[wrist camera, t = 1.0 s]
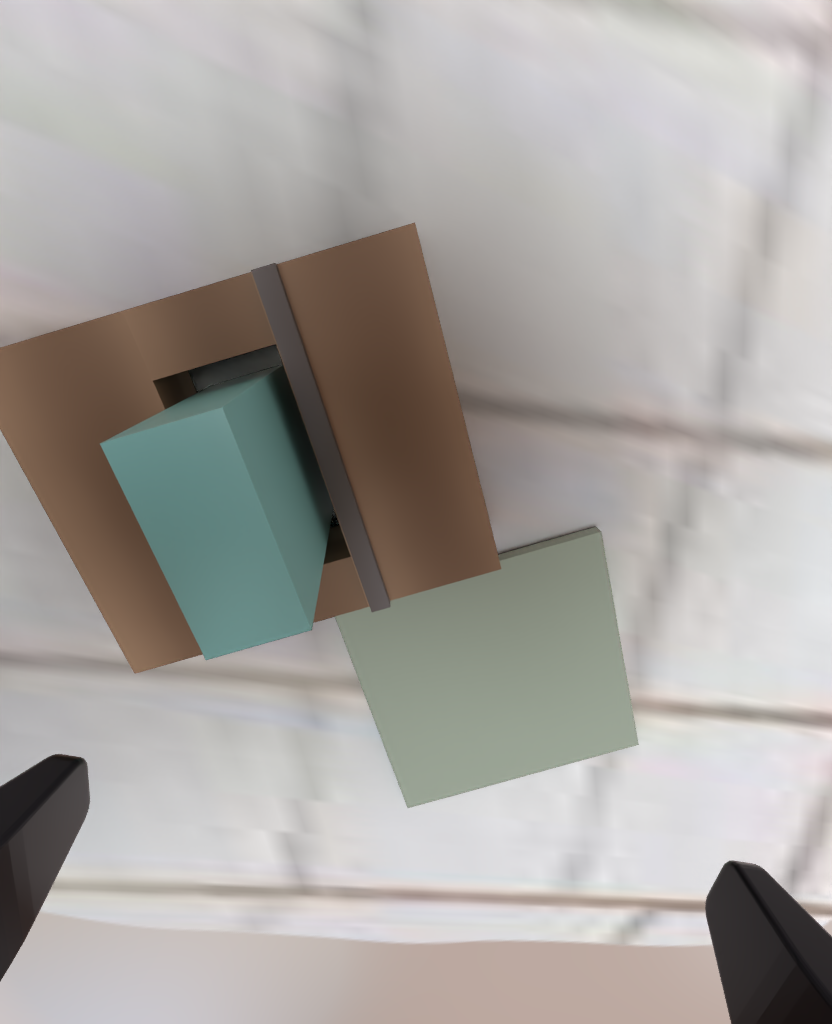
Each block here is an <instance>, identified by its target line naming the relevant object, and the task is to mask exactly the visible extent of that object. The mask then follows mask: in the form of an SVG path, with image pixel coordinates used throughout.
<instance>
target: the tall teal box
mask: <svg viewBox="0 0 832 1024" xmlns="http://www.w3.org/2000/svg"><path fill="white" fill-rule="evenodd" d="M100 445H101V447H102V449H103V451H104V453H105V455H106V458H107V460H108V462H109V464H110V466H111V468H112V470H113V472H114V474H115V476H116V478H117V480H118V482H119V484H120V486H121V488H122V490H123V492H124V494H125V496H126V498H127V500H128V502H129V504H130V506H131V508H132V510H133V513H134V515H135V517H136V519H137V521H138V523H139V525H140V527H141V529H142V531H143V533H144V535H145V537H146V539H147V541H148V543H149V545H150V547H151V549H152V551H153V553H154V555H155V557H156V559H157V561H158V563H159V566H160V568H161V570H162V572H163V574H164V576H165V578H166V580H167V582H168V584H169V586H170V588H171V590H172V592H173V594H174V596H175V598H176V600H177V602H178V604H179V606H180V608H181V610H182V612H183V614H184V616H185V619H186V621H187V623H188V625H189V627H190V629H191V631H192V633H193V635H194V637H195V639H196V641H197V643H198V645H199V647H200V649H201V651H202V653H203V655H204V657H205V659H206V660H208V659H212V658H215V657H219V656H222V655H226V654H229V653H233V652H236V651H240V650H243V649H247V648H250V647H254V646H258V645H261V644H265V643H268V642H272V641H275V640H279V639H282V638H286V637H289V636H293V635H296V634H300V633H303V632H307V631H310V630H312V626H313V620H314V614H315V609H316V603H317V598H318V592H319V586H320V581H321V575H322V570H323V564H324V558H325V553H326V547H327V542H328V536H329V530H330V525H331V519H332V514H333V508H334V507H333V505H332V502H331V499H330V496H329V493H328V491H327V488H326V485H325V482H324V479H323V476H322V474H321V471H320V468H319V465H318V462H317V459H316V457H315V454H314V451H313V448H312V445H311V442H310V440H309V437H308V434H307V431H306V428H305V425H304V423H303V420H302V417H301V414H300V411H299V408H298V406H297V403H296V400H295V397H294V394H293V392H292V389H291V386H290V383H289V380H288V377H287V375H286V372H285V369H284V366H283V364H282V365H279V366H276V367H272V368H269V369H266V370H262V371H259V372H256V373H252V374H249V375H245V376H242V377H239V378H235V379H232V380H229V381H225V382H222V383H219V384H215V385H212V386H210V387H208V388H206V389H204V390H202V391H200V392H198V393H196V394H194V395H192V396H190V397H188V398H187V399H185V400H183V401H181V402H179V403H177V404H175V405H173V406H171V407H169V408H167V409H165V410H163V411H162V412H160V413H158V414H156V415H154V416H152V417H150V418H148V419H146V420H144V421H142V422H140V423H138V424H137V425H135V426H133V427H131V428H129V429H127V430H125V431H123V432H121V433H119V434H117V435H115V436H113V437H112V438H110V439H108V440H106V441H104V442H102V443H100Z"/></svg>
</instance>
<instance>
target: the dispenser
mask: <svg viewBox="0 0 832 1024" xmlns="http://www.w3.org/2000/svg"><path fill="white" fill-rule="evenodd" d="M274 344H276V346H277V349H278V352H279V355H280V358H281V360H282V363H283V366H284V369H285V372H286V375H287V377H288V380H289V383H290V386H291V389H292V392H293V394H294V397H295V400H296V403H297V406H298V408H299V411H300V414H301V417H302V420H303V423H304V425H305V428H306V431H307V434H308V437H309V440H310V442H311V445H312V448H313V451H314V454H315V457H316V459H317V462H318V465H319V468H320V471H321V474H322V476H323V479H324V482H325V485H326V488H327V491H328V493H329V496H330V499H331V502H332V505H333V507H334V510H335V513H336V516H337V519H338V522H339V524H340V525H339V526H335V527H332V528H330V530H329V536H328V542H327V547H326V553H325V558H324V564H323V570H322V575H321V581H320V586H319V592H318V598H317V603H316V609H315V614H314V620H313V623H314V622H318V621H321V620H325V619H328V618H332V617H335V616H339V615H342V614H346V613H349V612H353V611H356V610H360V609H363V608H367V607H370V609H371V612H375V611H379V610H382V609H386V608H390V607H391V605H390V601H391V600H395V599H398V598H402V597H405V596H409V595H412V594H416V593H419V592H423V591H426V590H430V589H433V588H437V587H440V586H444V585H447V584H451V583H454V582H458V581H461V580H465V579H469V578H472V577H476V576H479V575H483V574H486V573H490V572H493V571H497V570H500V569H501V565H500V561H499V557H498V553H497V549H496V545H495V541H494V537H493V533H492V529H491V525H490V521H489V517H488V513H487V509H486V505H485V501H484V497H483V493H482V489H481V485H480V481H479V477H478V473H477V469H476V465H475V461H474V457H473V453H472V449H471V445H470V441H469V437H468V433H467V429H466V425H465V421H464V417H463V413H462V409H461V405H460V401H459V397H458V393H457V389H456V385H455V381H454V377H453V373H452V369H451V365H450V361H449V357H448V353H447V349H446V345H445V341H444V337H443V333H442V329H441V325H440V321H439V317H438V313H437V309H436V305H435V301H434V297H433V293H432V289H431V285H430V281H429V277H428V273H427V269H426V265H425V261H424V257H423V253H422V249H421V245H420V241H419V237H418V233H417V229H416V225H415V223H412V224H409V225H406V226H402V227H399V228H396V229H392V230H389V231H386V232H382V233H379V234H376V235H372V236H369V237H366V238H362V239H359V240H356V241H352V242H349V243H346V244H343V245H339V246H336V247H333V248H329V249H326V250H323V251H319V252H316V253H313V254H309V255H306V256H303V257H299V258H296V259H293V260H290V261H286V262H283V263H280V264H275V263H274V264H270V265H267V266H264V267H260V268H257V269H254V270H251V272H250V273H246V274H243V275H240V276H237V277H233V278H230V279H227V280H223V281H220V282H217V283H213V284H210V285H207V286H203V287H200V288H197V289H193V290H190V291H187V292H184V293H180V294H177V295H174V296H170V297H167V298H164V299H160V300H157V301H154V302H150V303H147V304H144V305H140V306H137V307H134V308H130V309H127V310H124V311H121V312H117V313H114V314H111V315H107V316H104V317H101V318H97V319H94V320H91V321H87V322H84V323H81V324H77V325H74V326H71V327H68V328H64V329H61V330H58V331H54V332H51V333H48V334H44V335H41V336H38V337H34V338H31V339H28V340H24V341H21V342H18V343H15V344H11V345H8V346H5V347H1V348H0V430H1V431H2V433H3V435H4V437H5V439H6V440H7V442H8V444H9V446H10V448H11V450H12V451H13V453H14V455H15V457H16V459H17V460H18V462H19V464H20V466H21V468H22V470H23V471H24V473H25V475H26V477H27V479H28V480H29V482H30V484H31V486H32V488H33V490H34V491H35V493H36V495H37V497H38V499H39V501H40V502H41V504H42V506H43V508H44V510H45V511H46V513H47V515H48V517H49V519H50V521H51V522H52V524H53V526H54V528H55V530H56V531H57V533H58V535H59V537H60V539H61V541H62V542H63V544H64V546H65V548H66V550H67V551H68V553H69V555H70V557H71V559H72V561H73V562H74V564H75V566H76V568H77V570H78V571H79V573H80V575H81V577H82V579H83V581H84V582H85V584H86V586H87V588H88V590H89V591H90V593H91V595H92V597H93V599H94V601H95V602H96V604H97V606H98V608H99V610H100V611H101V613H102V615H103V617H104V619H105V621H106V622H107V624H108V626H109V628H110V630H111V631H112V633H113V635H114V637H115V639H116V641H117V642H118V644H119V646H120V648H121V650H122V651H123V653H124V655H125V657H126V659H127V661H128V662H129V664H130V666H131V668H132V670H133V672H134V673H139V672H142V671H146V670H149V669H153V668H156V667H160V666H163V665H167V664H170V663H174V662H177V661H181V660H184V659H188V658H191V657H195V656H198V655H202V654H203V653H202V651H201V649H200V647H199V645H198V643H197V641H196V639H195V637H194V635H193V633H192V631H191V629H190V627H189V625H188V623H187V621H186V619H185V616H184V614H183V612H182V610H181V608H180V606H179V604H178V602H177V600H176V598H175V596H174V594H173V592H172V590H171V588H170V586H169V584H168V582H167V580H166V578H165V576H164V574H163V572H162V570H161V568H160V566H159V563H158V561H157V559H156V557H155V555H154V553H153V551H152V549H151V547H150V545H149V543H148V541H147V539H146V537H145V535H144V533H143V531H142V529H141V527H140V525H139V523H138V521H137V519H136V517H135V515H134V513H133V510H132V508H131V506H130V504H129V502H128V500H127V498H126V496H125V494H124V492H123V490H122V488H121V486H120V484H119V482H118V480H117V478H116V476H115V474H114V472H113V470H112V468H111V466H110V464H109V462H108V460H107V458H106V455H105V453H104V451H103V449H102V447H101V445H100V443H102V442H104V441H106V440H108V439H110V438H112V437H113V436H115V435H117V434H119V433H121V432H123V431H125V430H127V429H129V428H131V427H133V426H135V425H137V424H138V423H140V422H142V421H144V420H146V419H148V418H150V417H152V416H154V415H156V414H158V413H160V412H162V411H163V410H165V409H167V408H169V407H171V406H173V405H175V404H177V403H179V402H181V401H183V400H185V399H187V398H188V397H190V396H192V395H194V394H196V393H197V392H196V390H195V387H194V385H193V382H192V380H191V377H190V375H189V373H188V370H190V369H194V368H197V367H200V366H204V365H207V364H210V363H214V362H217V361H220V360H224V359H227V358H231V357H234V356H237V355H241V354H244V353H247V352H251V351H254V350H257V349H261V348H264V347H267V346H271V345H274Z"/></svg>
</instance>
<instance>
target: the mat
mask: <svg viewBox="0 0 832 1024" xmlns="http://www.w3.org/2000/svg"><path fill="white" fill-rule="evenodd" d="M498 557H499V561H500V565H501V569H500V570H497V571H493V572H490V573H486V574H483V575H479V576H476V577H472V578H469V579H465V580H461V581H458V582H454V583H451V584H447V585H444V586H440V587H437V588H433V589H430V590H426V591H423V592H419V593H416V594H412V595H409V596H405V597H402V598H398V599H395V600H391V601H390V605H391V607H390V608H386V609H382V610H379V611H375V612H371V609H370V607H367V608H363V609H360V610H356V611H353V612H349V613H346V614H342V615H339V616H335V618H336V621H337V623H338V626H339V629H340V631H341V634H342V637H343V639H344V642H345V644H346V647H347V650H348V652H349V655H350V658H351V660H352V663H353V665H354V668H355V671H356V673H357V676H358V679H359V681H360V684H361V687H362V689H363V692H364V694H365V697H366V700H367V702H368V705H369V708H370V710H371V713H372V715H373V718H374V721H375V723H376V726H377V729H378V731H379V734H380V736H381V739H382V742H383V744H384V747H385V750H386V752H387V755H388V757H389V760H390V763H391V765H392V768H393V771H394V773H395V776H396V778H397V781H398V784H399V786H400V789H401V792H402V794H403V797H404V799H405V802H406V805H407V807H408V808H410V807H414V806H418V805H421V804H425V803H428V802H432V801H436V800H439V799H443V798H447V797H450V796H454V795H458V794H461V793H465V792H468V791H472V790H476V789H479V788H483V787H487V786H490V785H494V784H497V783H501V782H505V781H508V780H512V779H516V778H519V777H523V776H527V775H530V774H534V773H537V772H541V771H545V770H548V769H552V768H556V767H559V766H563V765H567V764H570V763H574V762H577V761H581V760H585V759H588V758H592V757H596V756H599V755H603V754H607V753H610V752H614V751H617V750H621V749H625V748H628V747H632V746H636V745H638V739H637V733H636V728H635V722H634V716H633V711H632V705H631V699H630V693H629V688H628V682H627V676H626V671H625V665H624V659H623V654H622V648H621V642H620V636H619V631H618V625H617V619H616V614H615V608H614V602H613V597H612V591H611V585H610V579H609V574H608V568H607V562H606V557H605V551H604V545H603V540H602V534H601V531H600V530H599V529H598V528H597V527H593V528H590V529H586V530H583V531H579V532H576V533H572V534H569V535H565V536H562V537H558V538H555V539H551V540H548V541H544V542H541V543H537V544H534V545H530V546H527V547H523V548H520V549H516V550H513V551H509V552H506V553H502V554H499V555H498Z"/></svg>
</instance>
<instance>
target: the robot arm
mask: <svg viewBox="0 0 832 1024" xmlns="http://www.w3.org/2000/svg"><path fill="white" fill-rule="evenodd" d="M89 804H90V794H89V780H88V767H87V762H86V761H85V760H84V758H81V757H75V756H69V755H63V754H55V755H52V756H49V757H48V758H46V759H44V760H42V761H41V762H39V763H38V764H36V765H34V766H33V767H31V768H30V769H28V770H26V771H25V772H23V773H21V774H20V775H18V776H17V777H15V778H13V779H12V780H10V781H9V782H7V783H5V784H4V785H2V786H0V981H1V979H2V978H3V976H4V974H5V973H6V971H7V969H8V968H9V966H10V965H11V963H12V961H13V959H14V958H15V956H16V954H17V953H18V951H19V949H20V947H21V946H22V944H23V942H24V940H25V939H26V937H27V935H28V932H29V931H30V929H31V927H32V925H33V923H34V921H35V919H36V917H37V915H38V913H39V911H40V909H41V907H42V905H43V903H44V901H45V899H46V897H47V895H48V893H49V891H50V889H51V887H52V885H53V883H54V881H55V879H56V877H57V875H58V873H59V871H60V869H61V867H62V865H63V863H64V861H65V859H66V857H67V855H68V853H69V850H70V848H71V846H72V844H73V842H74V840H75V838H76V836H77V834H78V832H79V830H80V828H81V826H82V824H83V822H84V820H85V818H86V815H87V812H88V809H89ZM705 909H706V917H707V922H708V926H709V931H710V935H711V939H712V943H713V948H714V952H715V956H716V960H717V965H718V969H719V973H720V977H721V982H722V985H723V990H724V994H725V999H726V1003H727V1007H728V1011H729V1016H730V1020H731V1024H832V936H831V935H830V934H829V933H828V932H826V931H825V929H824V928H823V927H822V926H821V925H820V924H819V923H818V922H817V921H816V920H815V919H814V918H813V917H812V916H811V915H810V914H809V913H808V912H807V911H806V910H805V909H804V908H803V907H802V906H801V905H800V904H799V903H798V902H797V901H796V900H795V899H794V898H793V897H792V896H791V895H789V894H788V893H787V892H786V891H785V890H784V889H783V888H782V887H781V886H780V885H779V884H778V883H777V882H776V881H775V880H774V879H773V878H772V877H771V876H770V875H769V874H768V873H767V872H766V871H765V870H764V869H763V868H761V867H760V866H758V865H756V864H752V863H746V862H739V861H729V862H727V863H725V864H724V866H723V868H722V869H721V871H720V873H719V875H718V877H717V879H716V880H715V882H714V884H713V886H712V888H711V890H710V892H709V893H708V896H707V899H706V907H705Z"/></svg>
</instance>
